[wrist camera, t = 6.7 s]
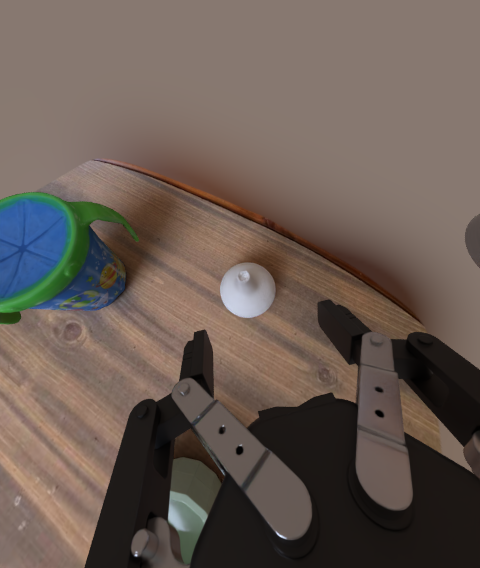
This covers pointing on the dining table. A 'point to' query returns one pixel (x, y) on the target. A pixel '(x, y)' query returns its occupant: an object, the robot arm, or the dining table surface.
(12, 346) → the dining table surface
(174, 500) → the dish
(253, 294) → the garlic bulb
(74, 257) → the snack cup
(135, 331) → the dining table surface
